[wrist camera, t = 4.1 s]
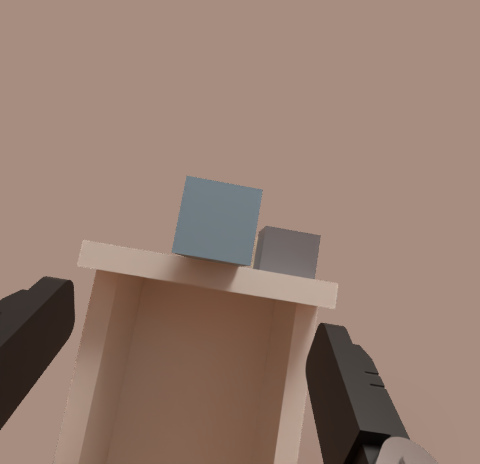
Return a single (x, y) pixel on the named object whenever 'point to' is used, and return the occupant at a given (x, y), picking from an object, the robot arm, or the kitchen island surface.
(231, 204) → the slate block
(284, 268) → the charcoal block
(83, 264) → the shelf stand
